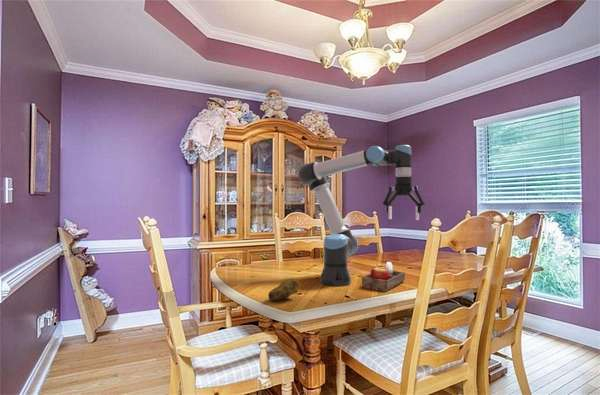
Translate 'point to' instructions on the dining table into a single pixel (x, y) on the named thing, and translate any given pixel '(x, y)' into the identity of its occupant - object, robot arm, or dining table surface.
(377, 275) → the apple
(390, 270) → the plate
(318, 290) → the dining table surface
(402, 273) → the wooden tray
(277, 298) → the avocado
